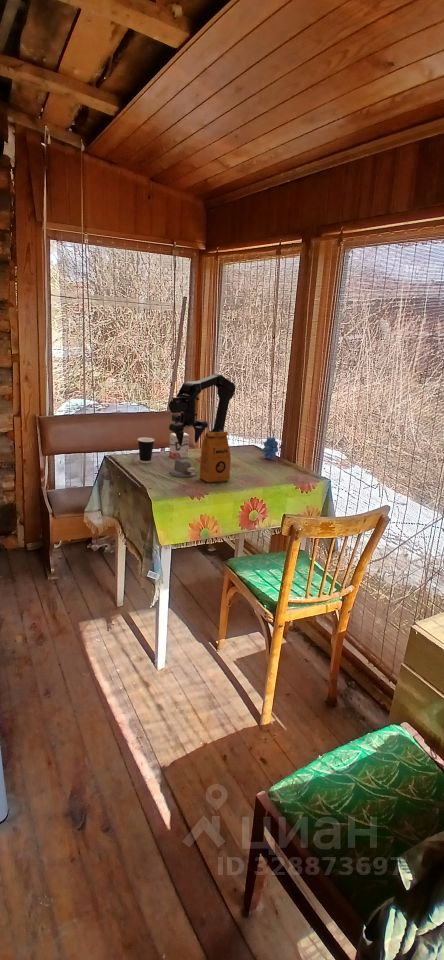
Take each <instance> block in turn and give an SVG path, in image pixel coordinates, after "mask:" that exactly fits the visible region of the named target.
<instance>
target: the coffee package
mask: <svg viewBox="0 0 444 960" xmlns="http://www.w3.org/2000/svg"><path fill="white" fill-rule="evenodd" d="M208 432H209V431H208ZM208 432H205V434H204V437H203V438H204V439H203V441H202V445H201V449H200V450H201V451H200V452H201V453H200V464H199V466H200V467H199V479H200V480H203V481H204V482H207V483H216V482H217V483H221V482H229V480H230V477H231V460H232V459H231V458H232V457H231V455H232V454H231V450H230V445H229V440H228V439H229V438H228V437H227V436H228V435H229V432H228V431H224V432H209V433H208Z"/></svg>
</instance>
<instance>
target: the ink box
mask: <svg viewBox="0 0 444 960" xmlns="http://www.w3.org/2000/svg"><path fill="white" fill-rule="evenodd" d="M189 444H190V434H189V433H186V432H184V435H183V441H182V445H179V442H178V439H177V436H176V434H175V433H174V432H173V433H172V432H171V433H169V454H168V456H169V457H170V458H172V459H176V458H182V459H185V458H189V448H190V447H189V446H190V445H189Z"/></svg>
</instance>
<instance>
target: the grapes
mask: <svg viewBox="0 0 444 960" xmlns="http://www.w3.org/2000/svg"><path fill="white" fill-rule="evenodd" d="M278 445H279V443H278V441H276V438H275V437H274V436H272V437H267V438H266V440H265V441H264V442H263V448H262V452H263V453H264V455H263V456H264V457H265V458H267V459H268V460H269V459H270V460H272V459H273V458H275V457H276V456H277V452H279V447H278Z"/></svg>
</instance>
